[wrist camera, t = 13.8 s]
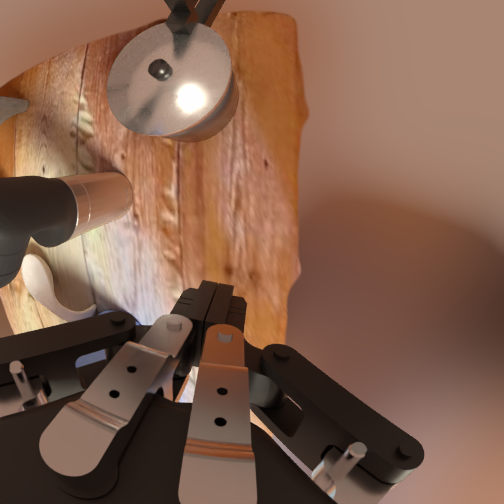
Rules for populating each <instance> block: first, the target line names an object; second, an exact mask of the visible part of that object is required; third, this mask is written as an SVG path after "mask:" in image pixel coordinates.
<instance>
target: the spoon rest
mask: <svg viewBox="0 0 504 504" xmlns="http://www.w3.org/2000/svg"><path fill="white" fill-rule="evenodd" d="M21 269H22V277H23V280H24V283H25V285H26V287H27V289H28V291H29V292H30V294H31V295H32V296H33V297H34V298H35V299H36V300H37V301H38V302H40V303H41V304H42V305H44V306H45V307H46V308H48V309H49V310H50V311H52V312H53V313H54V314H56V315H57V316H58V317H60V318H62V319H64V320H66V321H69V322H72V321H76V320H80V319H84V318H88V317H93V316H94V314H95V311H96V304H93V305H92V306H90V307H89V308H88V309H86V310H84V311H73V310H70V309H68V308H66V307H64V306H62V305H61V304H60V303H59V302H58V301H57V299H56V297H55V293H54V282H53V276H52V273H51V270H50V268H49V267H48V265H47V263H46V262H45V261H44V260H43V259H42V258H41V257H39V256H37V255H35V254H30V253H29V254H26V255H25V256H24V258H23V262H22V268H21Z"/></svg>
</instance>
